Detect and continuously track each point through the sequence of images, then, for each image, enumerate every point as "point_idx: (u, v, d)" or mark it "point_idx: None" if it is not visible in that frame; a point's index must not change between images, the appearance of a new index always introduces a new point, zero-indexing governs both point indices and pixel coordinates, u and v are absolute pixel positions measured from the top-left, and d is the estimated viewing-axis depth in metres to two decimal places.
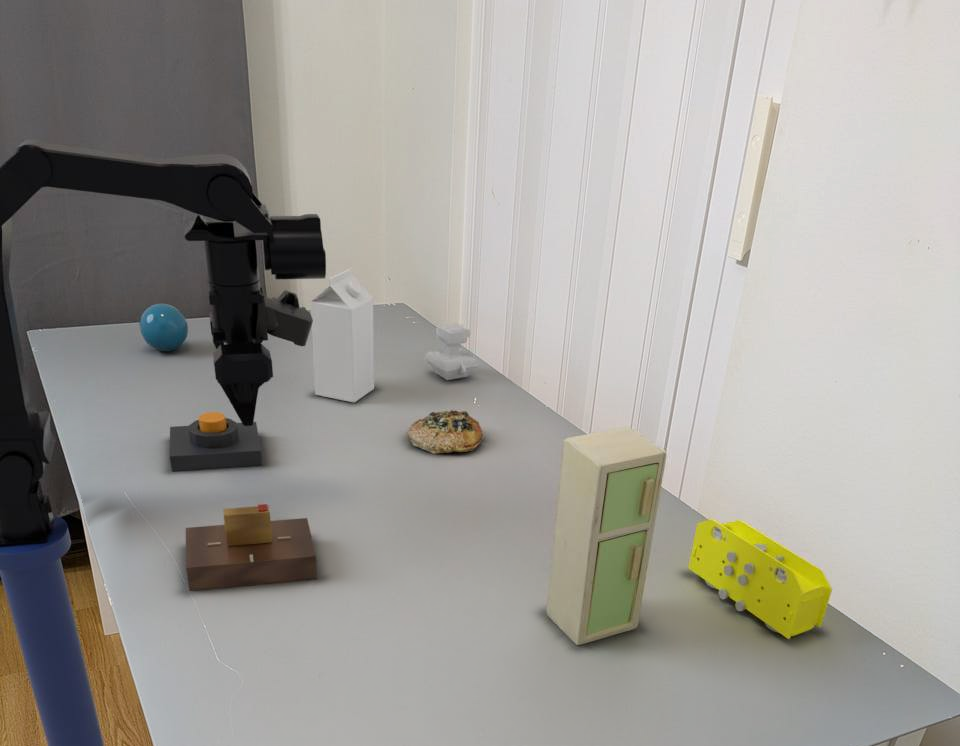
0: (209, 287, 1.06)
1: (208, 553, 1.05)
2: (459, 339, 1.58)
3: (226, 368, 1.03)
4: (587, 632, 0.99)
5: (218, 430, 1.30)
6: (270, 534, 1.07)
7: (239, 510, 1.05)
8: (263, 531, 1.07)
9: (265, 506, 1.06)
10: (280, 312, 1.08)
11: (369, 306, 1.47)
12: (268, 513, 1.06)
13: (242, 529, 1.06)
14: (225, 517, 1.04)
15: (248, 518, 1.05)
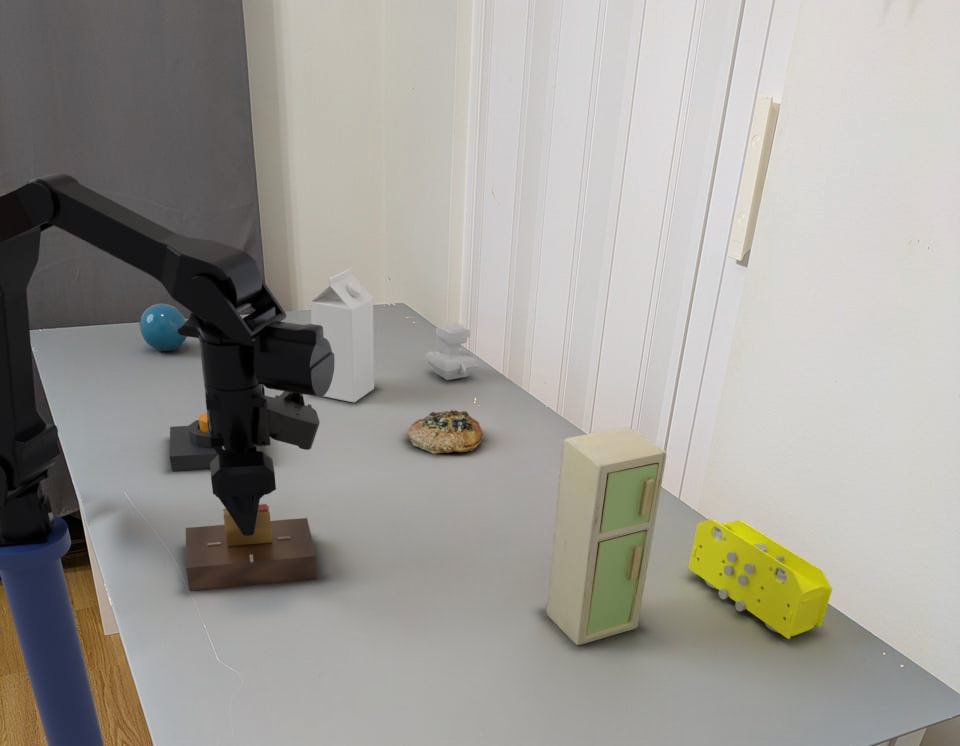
0: (206, 390, 0.96)
1: (208, 553, 1.05)
2: (459, 339, 1.58)
3: (225, 482, 0.93)
4: (587, 632, 0.99)
5: None
6: (270, 534, 1.07)
7: None
8: (263, 531, 1.07)
9: (265, 506, 1.06)
10: (284, 415, 0.98)
11: (369, 306, 1.47)
12: (268, 513, 1.06)
13: None
14: (225, 517, 1.04)
15: None
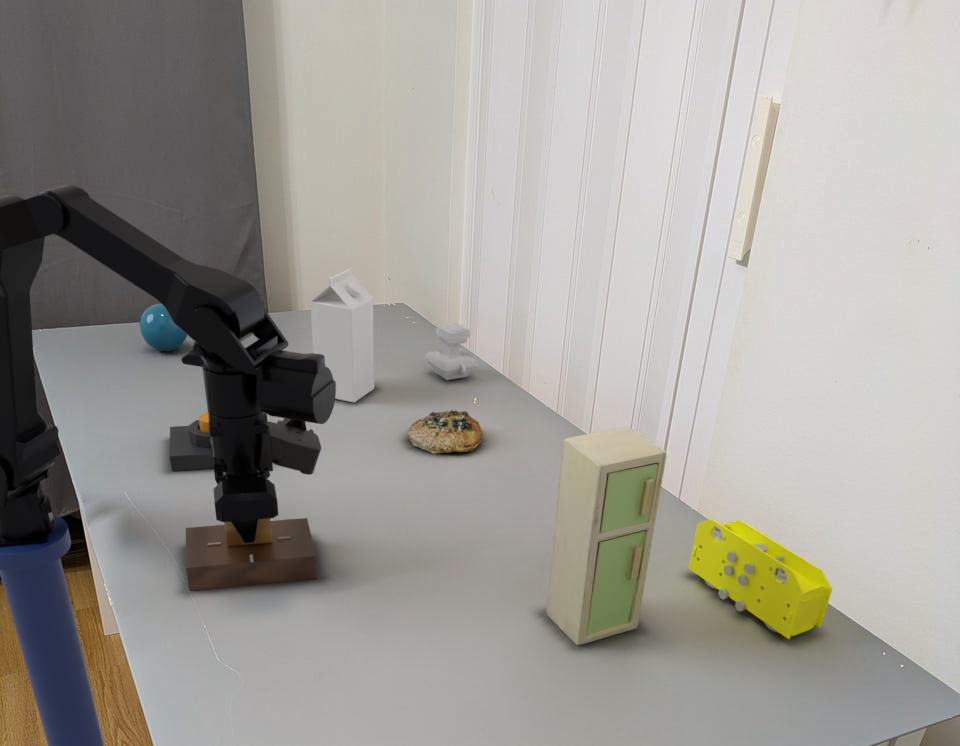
0: (209, 417, 0.98)
1: (208, 553, 1.05)
2: (459, 339, 1.58)
3: (228, 509, 0.95)
4: (587, 632, 0.99)
5: None
6: (270, 534, 1.07)
7: None
8: (263, 531, 1.07)
9: None
10: (286, 441, 1.00)
11: (369, 306, 1.47)
12: None
13: None
14: None
15: None
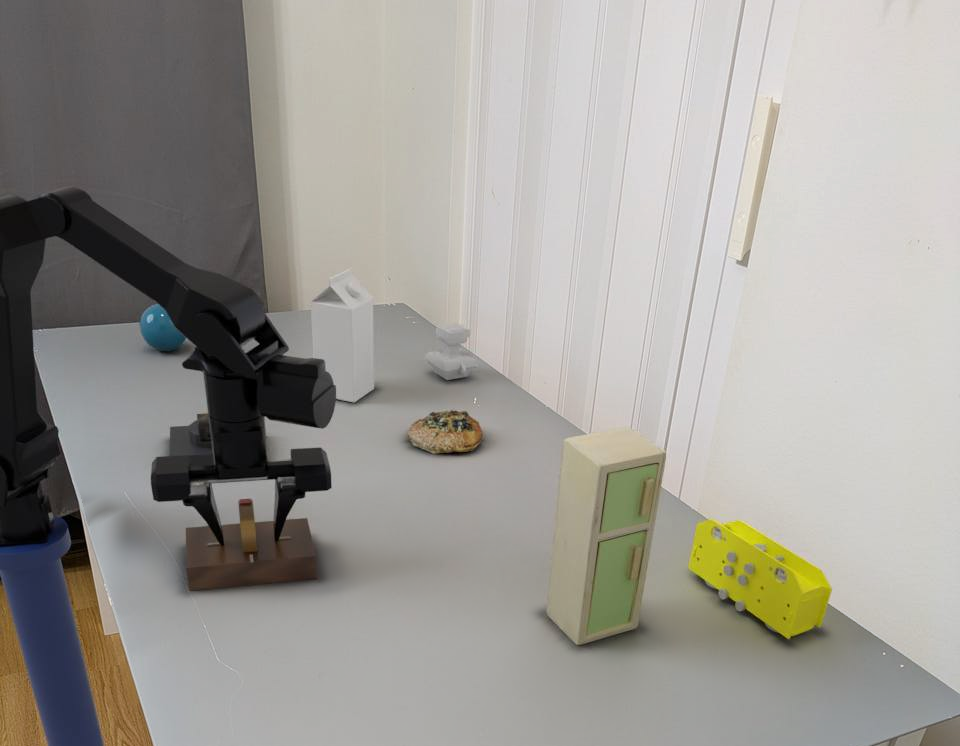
0: (246, 426, 0.97)
1: (208, 553, 1.05)
2: (459, 339, 1.58)
3: None
4: (587, 632, 0.99)
5: None
6: None
7: (246, 513, 1.05)
8: None
9: (244, 499, 1.07)
10: None
11: (369, 306, 1.47)
12: (252, 501, 1.08)
13: None
14: (254, 521, 1.04)
15: None
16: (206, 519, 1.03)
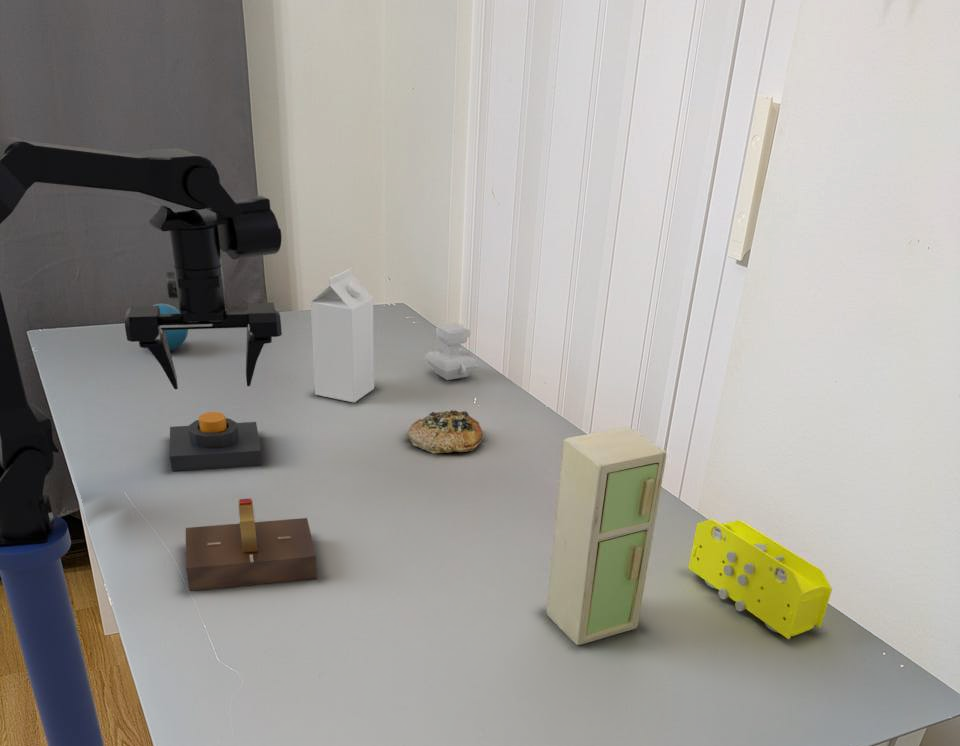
0: (205, 274, 1.14)
1: (208, 553, 1.05)
2: (459, 339, 1.58)
3: None
4: (587, 632, 0.99)
5: (218, 430, 1.30)
6: None
7: (246, 513, 1.05)
8: None
9: (244, 499, 1.07)
10: None
11: (369, 306, 1.47)
12: (252, 501, 1.08)
13: None
14: (254, 521, 1.04)
15: None
16: (160, 361, 1.19)
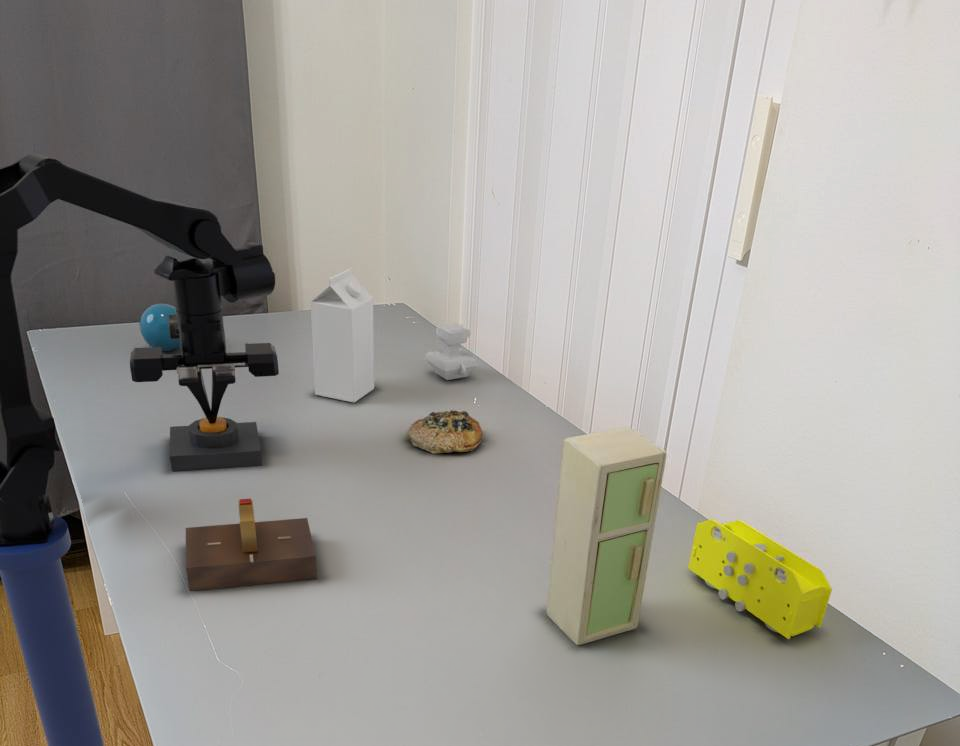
0: (206, 319, 1.20)
1: (208, 553, 1.05)
2: (459, 339, 1.58)
3: None
4: (587, 632, 0.99)
5: None
6: None
7: (246, 513, 1.05)
8: None
9: (244, 499, 1.07)
10: None
11: (369, 306, 1.47)
12: (252, 501, 1.08)
13: None
14: (254, 521, 1.04)
15: None
16: (197, 398, 1.26)
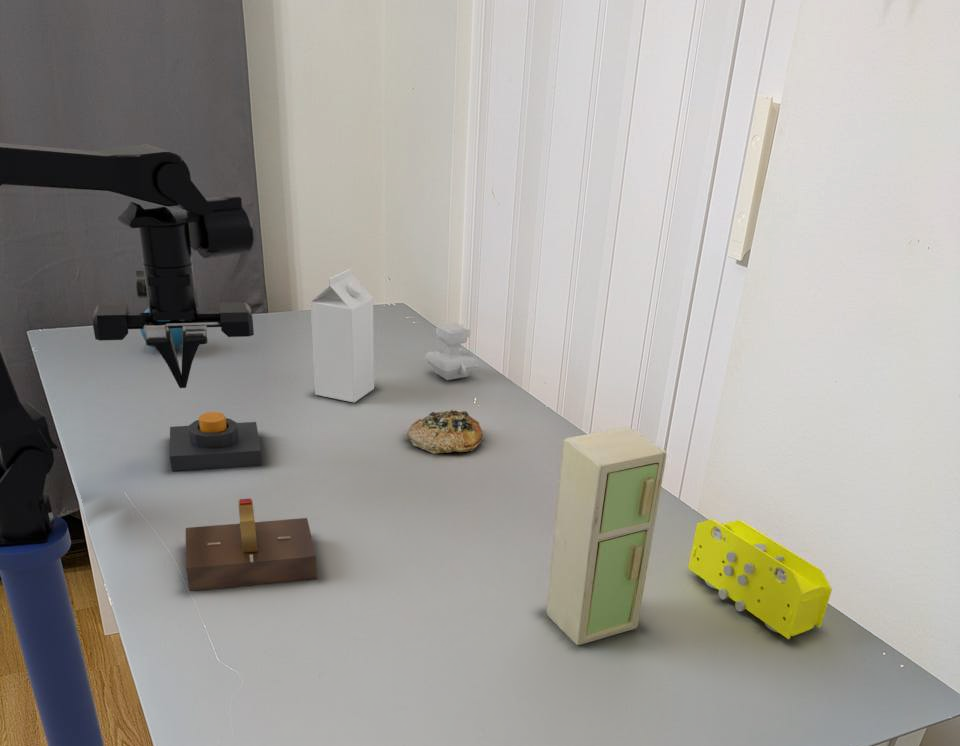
0: (176, 272, 1.12)
1: (208, 553, 1.05)
2: (459, 339, 1.58)
3: None
4: (587, 632, 0.99)
5: (218, 430, 1.30)
6: None
7: (246, 513, 1.05)
8: None
9: (244, 499, 1.07)
10: None
11: (369, 306, 1.47)
12: (252, 501, 1.08)
13: None
14: (254, 521, 1.04)
15: None
16: (166, 360, 1.18)
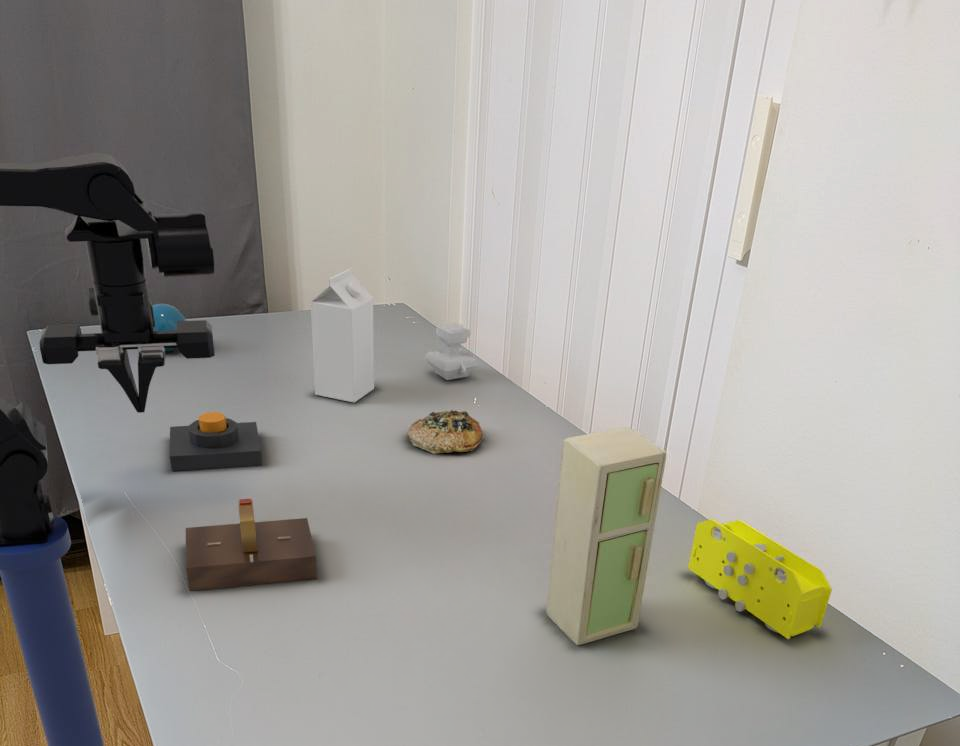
0: (127, 291, 1.04)
1: (208, 553, 1.05)
2: (459, 339, 1.58)
3: None
4: (587, 632, 0.99)
5: (218, 430, 1.30)
6: None
7: (246, 513, 1.05)
8: None
9: (244, 499, 1.07)
10: None
11: (369, 306, 1.47)
12: (252, 501, 1.08)
13: None
14: (254, 521, 1.04)
15: None
16: (121, 383, 1.10)
